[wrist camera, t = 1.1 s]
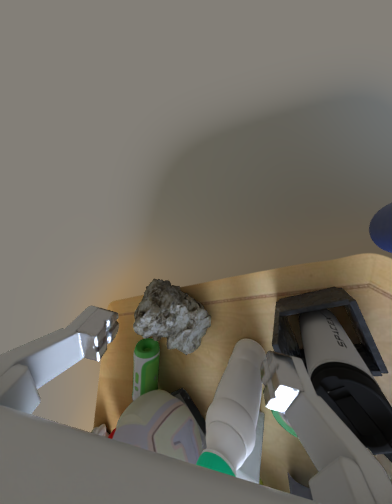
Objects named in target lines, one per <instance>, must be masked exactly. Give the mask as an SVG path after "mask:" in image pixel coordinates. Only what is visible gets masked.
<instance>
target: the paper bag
mask: <svg viewBox="0 0 392 504" xmlns="http://www.w3.org/2000/svg"><path fill="white" fill-rule="evenodd" d="M288 479H289V488H290V494H293V495H296V496H300V497H303V498H306V499H309V500H313V498H312V494H311V490H310V489H309V488H307V487H305V486H303V485H301V484H299V483H297V482H296V481H295V480H294V479H293V478H292V477H291V476H290V475H289V473H288Z"/></svg>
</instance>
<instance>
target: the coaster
mask: <svg viewBox="0 0 392 504" xmlns="http://www.w3.org/2000/svg"><path fill="white" fill-rule="evenodd" d="M391 445H392V443H391ZM384 455H385V456H386V457H387V458H388V459H389V460H390V461H391V462H392V452H390V453H384Z"/></svg>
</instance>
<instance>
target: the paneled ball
mask: <svg viewBox="0 0 392 504" xmlns="http://www.w3.org/2000/svg"><path fill="white" fill-rule="evenodd" d="M112 439H114V440H117V441H120V442H123V443H127V444H130V445H133V446H136V447H140V448H143V449H146V450H150V451H153V452H156V453H159V454H163V455H166V456H169V457H172V458H176V459H179V460H182V461H185V462H189V463H192V464H195V465H196V463H197V461H198V458H199V456H200V455H201V453H202V451H203V448H202V441H201V436H200V432H199V429H198V426H197V424H196V421H195V419H194V417H193V415H192V413H191V412H190V410H189V409H188V407H187V406H186V405H185V404H184V403H183V402H182V401H181V400H179V399H178V398H176V397H174V396H172V395H171V394H169V393H168V392H166V391H164V390H153V391H150V392H147V393H145V394H143V395H141V396H140V397H138V398H137V399H136V400H134V401H133V402H132V403H131V404H130V405H129V406H128V407H127V408H126V409H125V411H124V412H123V413H122V415H121V417H120V418H119V420H118V422H117V427H116V431H115V434H114V436H113V438H112Z"/></svg>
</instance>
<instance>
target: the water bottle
mask: <svg viewBox="0 0 392 504" xmlns="http://www.w3.org/2000/svg"><path fill="white" fill-rule="evenodd" d="M265 359H266V354H265V351H264V349H263V348H262V346H261V345H260V344H259V343H257V342H256V341H254V340H252V339H241V340H239V341H238V342H237V343H236V345H235V347H234V349H233V353H232V355H231V357H230V359H229V362H228V366H227V367H226V369H225V371H224V373H223V375H222V378H221V380H220V382H219V385H218V387H217V390H216V393H215V396H214V399H213V402H212V403H211V404H210V406H209V408H208V411H207V414H206V446H207V448H206V449H204V450H203V451H202V453H201V455H200V456H199V458H198V461H197V463H196V465H198V466H202V467H205V468H208V469H211V470H215V471H218V472H221V473H225V474H228V475H231V476H234V477H237V474H236V470H237V469H239V468H240V467H241V466H242V464H243V463H244V461H245V460H246V458H247V457H248V456H249V455H250V454H251V452H252V450H253V448H254V445H255V440H256V431H255V429H256V425H257V420H258V415H259V409H260V401H261V392H262V381H261V376H260V368H261V364H262V361H263V360H265Z"/></svg>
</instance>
